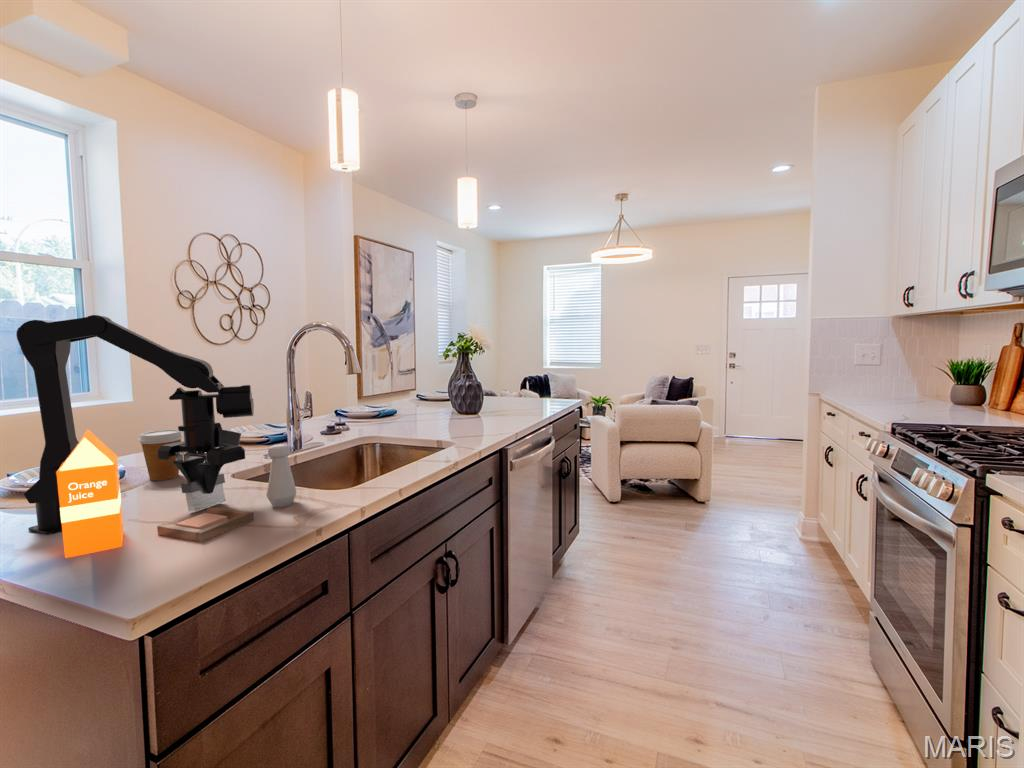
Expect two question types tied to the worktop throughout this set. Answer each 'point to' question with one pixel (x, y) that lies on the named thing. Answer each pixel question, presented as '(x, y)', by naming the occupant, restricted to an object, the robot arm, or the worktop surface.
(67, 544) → the orange juice
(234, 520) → the bay
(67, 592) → the worktop surface
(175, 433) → the disposable coffee cup
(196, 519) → the tile
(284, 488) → the salt shaker
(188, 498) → the grey block
